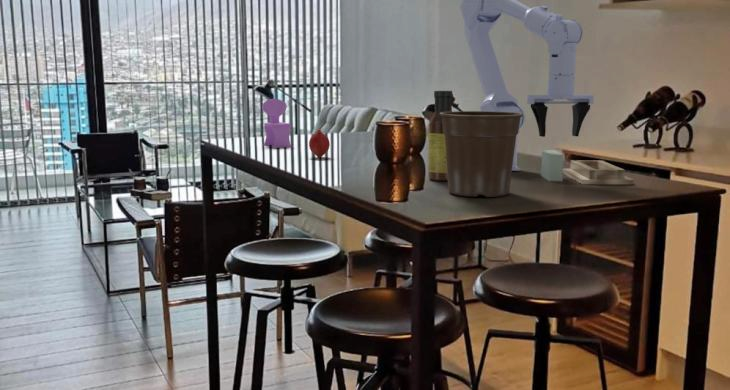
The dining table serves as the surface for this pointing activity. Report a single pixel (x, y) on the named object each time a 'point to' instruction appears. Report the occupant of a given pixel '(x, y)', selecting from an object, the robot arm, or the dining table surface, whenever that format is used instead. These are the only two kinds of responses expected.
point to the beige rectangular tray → (596, 172)
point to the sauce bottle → (438, 137)
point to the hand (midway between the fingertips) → (558, 136)
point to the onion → (319, 143)
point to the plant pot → (480, 151)
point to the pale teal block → (552, 165)
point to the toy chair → (276, 124)
